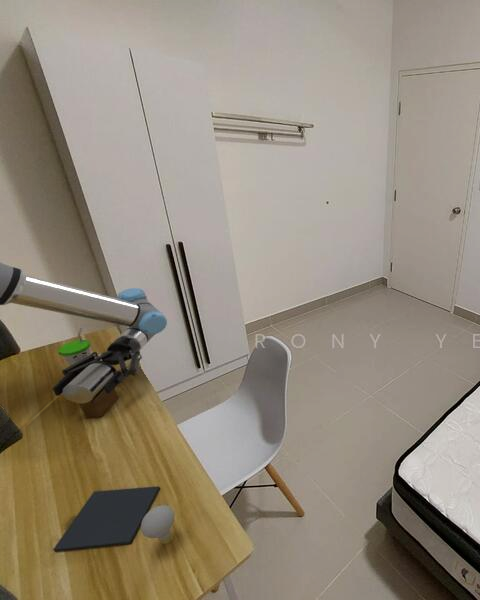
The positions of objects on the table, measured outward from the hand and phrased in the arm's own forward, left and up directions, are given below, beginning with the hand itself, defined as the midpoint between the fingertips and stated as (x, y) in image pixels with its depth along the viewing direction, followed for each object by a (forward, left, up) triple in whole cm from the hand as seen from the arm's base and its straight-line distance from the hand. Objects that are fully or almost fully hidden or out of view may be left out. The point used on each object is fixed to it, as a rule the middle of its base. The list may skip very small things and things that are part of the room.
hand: (81, 390), depth 91 cm
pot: (0, +4, 0) cm, 4 cm away
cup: (-16, +22, -10) cm, 29 cm away
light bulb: (+36, -36, -10) cm, 52 cm away
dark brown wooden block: (0, +4, -10) cm, 11 cm away
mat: (+22, -30, -10) cm, 39 cm away
